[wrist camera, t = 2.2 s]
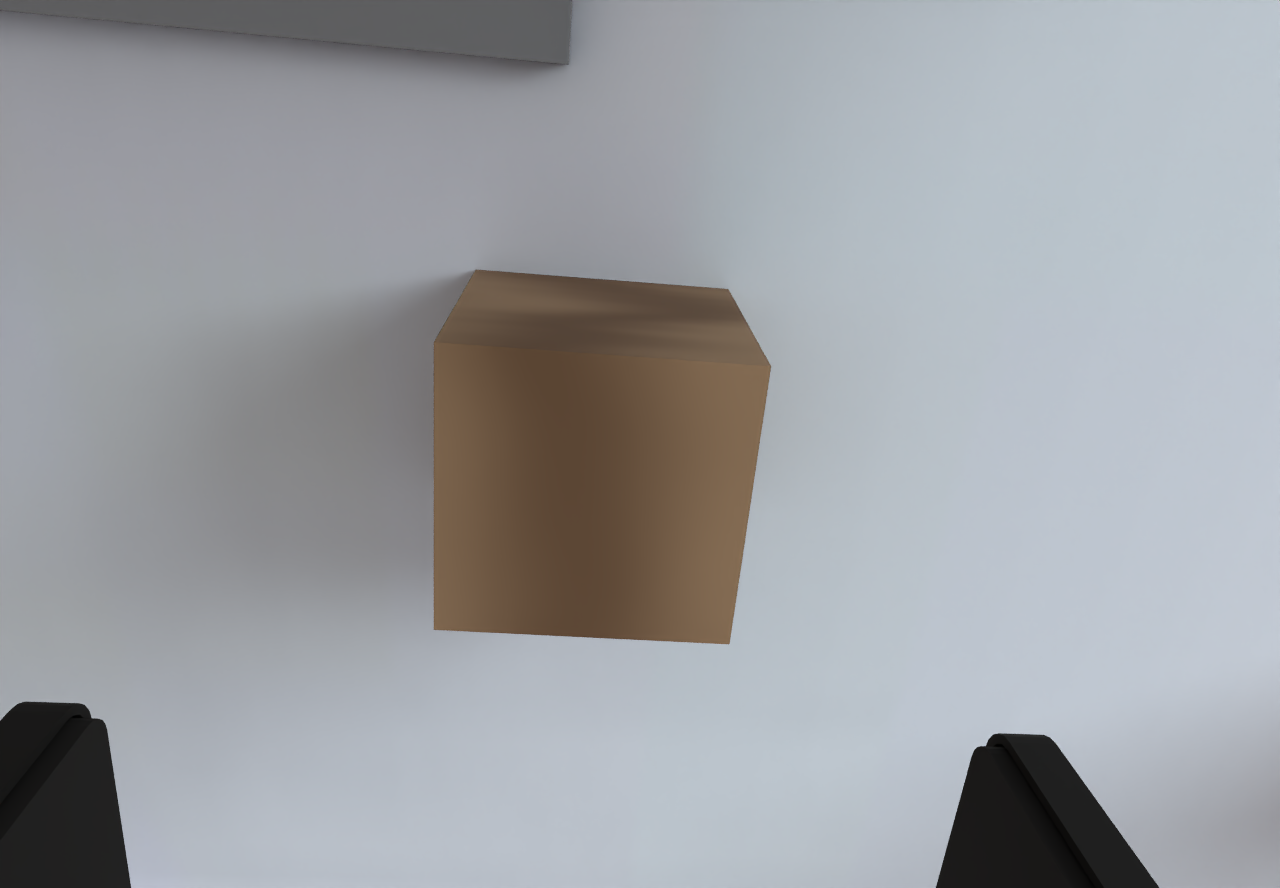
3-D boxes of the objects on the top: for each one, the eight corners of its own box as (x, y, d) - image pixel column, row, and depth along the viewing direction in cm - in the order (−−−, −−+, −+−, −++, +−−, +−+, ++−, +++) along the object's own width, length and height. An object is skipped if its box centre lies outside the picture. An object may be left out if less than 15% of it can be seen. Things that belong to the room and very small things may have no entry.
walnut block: (727, 288, 20) (770, 366, 15) (699, 510, 22) (729, 644, 17) (476, 268, 20) (434, 342, 15) (471, 497, 22) (434, 629, 17)
